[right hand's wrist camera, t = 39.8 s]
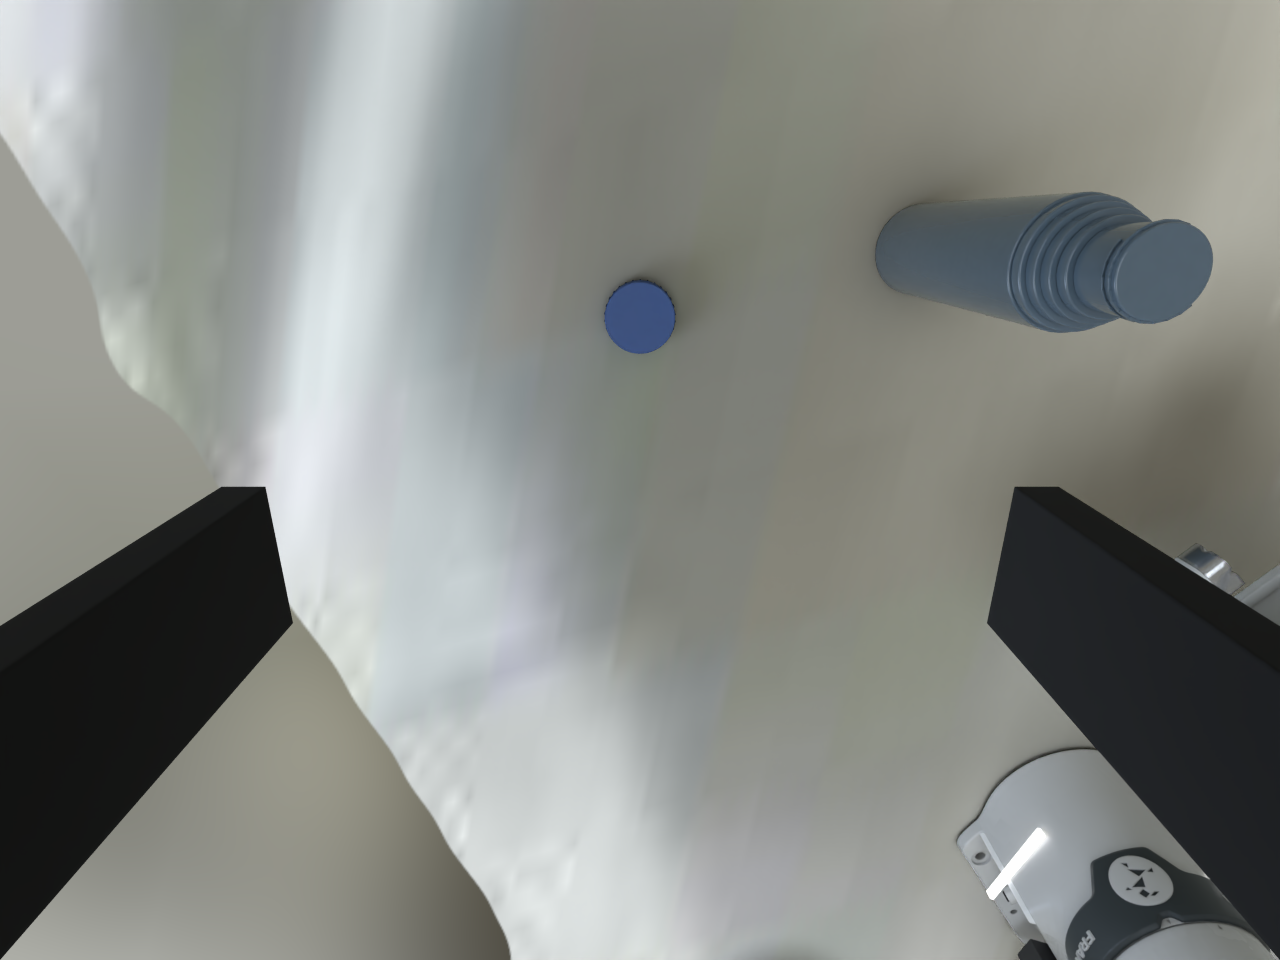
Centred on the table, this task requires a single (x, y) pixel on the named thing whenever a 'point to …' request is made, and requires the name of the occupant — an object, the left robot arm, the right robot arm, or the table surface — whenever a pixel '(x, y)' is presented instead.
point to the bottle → (1046, 259)
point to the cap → (639, 316)
